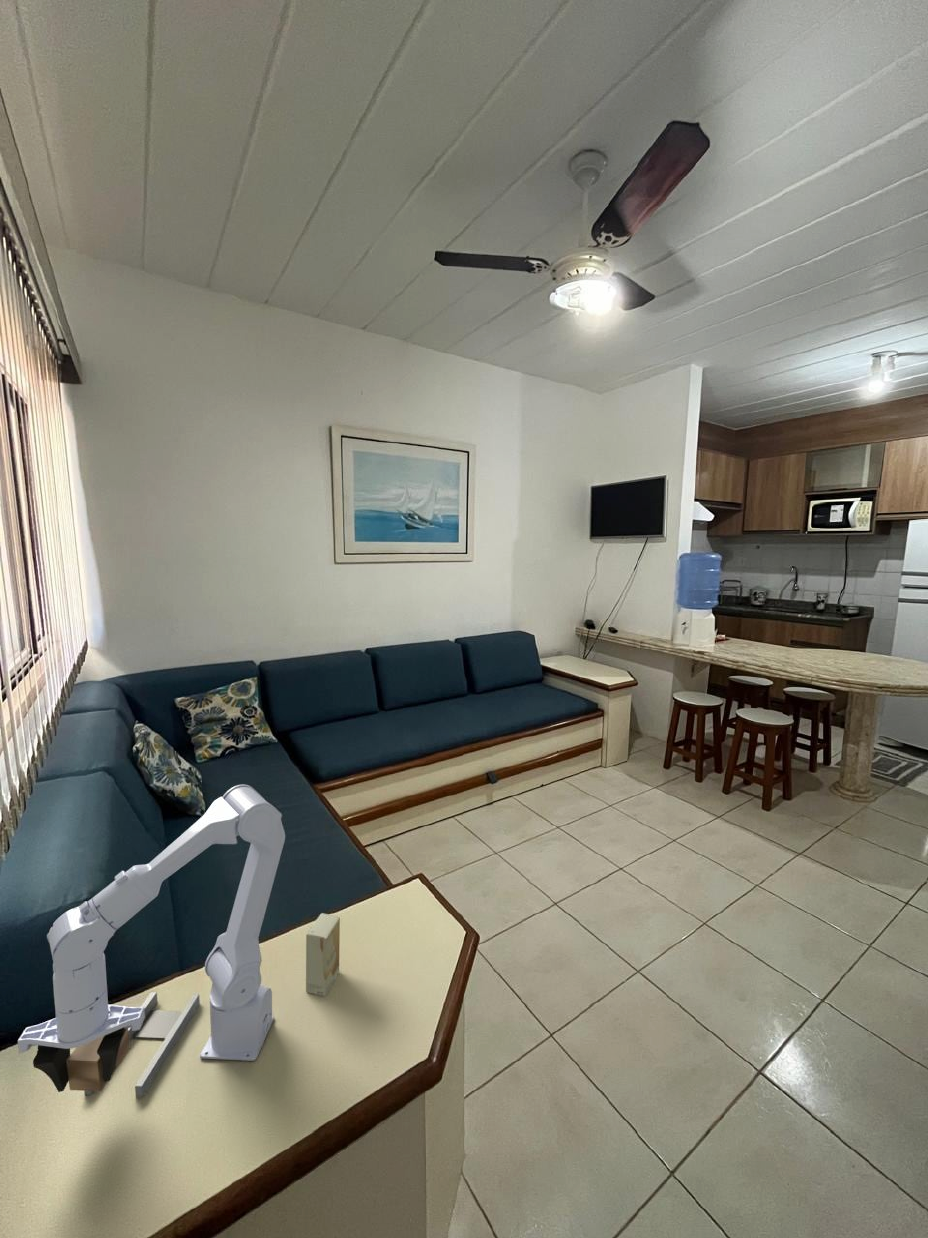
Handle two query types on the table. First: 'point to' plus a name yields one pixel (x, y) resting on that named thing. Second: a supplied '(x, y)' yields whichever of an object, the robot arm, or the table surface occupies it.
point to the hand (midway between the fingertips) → (87, 1079)
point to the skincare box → (322, 954)
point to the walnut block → (91, 1065)
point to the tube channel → (160, 1035)
